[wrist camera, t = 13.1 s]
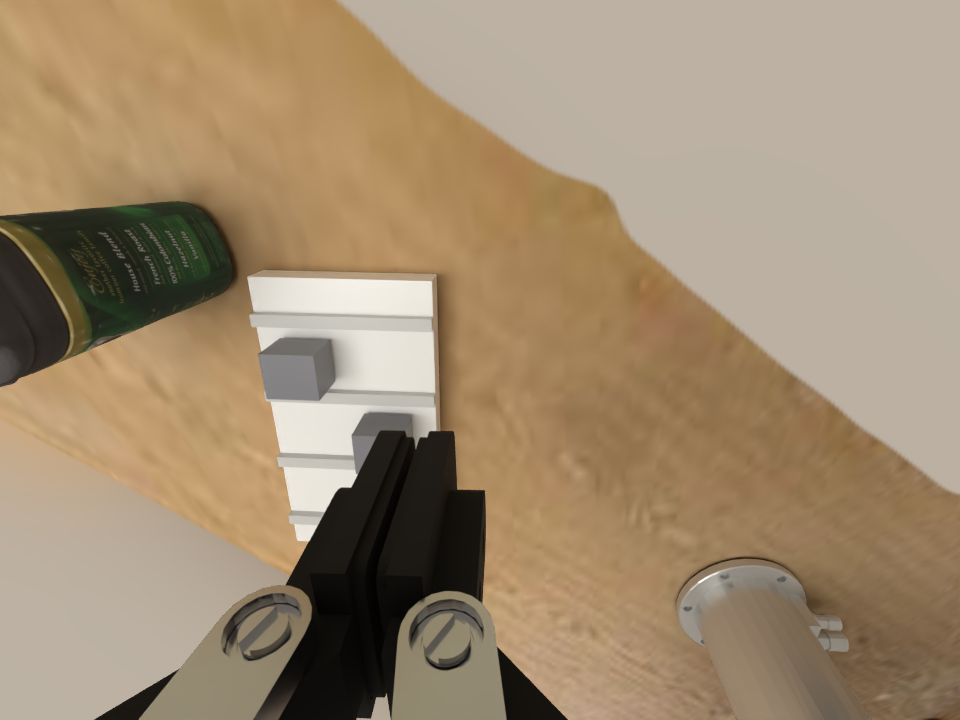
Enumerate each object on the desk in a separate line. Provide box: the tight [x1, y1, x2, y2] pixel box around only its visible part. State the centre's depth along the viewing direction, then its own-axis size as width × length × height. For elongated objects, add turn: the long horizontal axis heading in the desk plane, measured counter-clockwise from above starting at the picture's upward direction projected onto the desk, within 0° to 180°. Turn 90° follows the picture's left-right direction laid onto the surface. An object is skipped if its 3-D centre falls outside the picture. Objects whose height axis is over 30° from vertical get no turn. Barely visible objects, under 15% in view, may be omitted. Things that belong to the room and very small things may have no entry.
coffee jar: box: [0, 201, 233, 387], centre depth 27 cm, size 10×8×19 cm
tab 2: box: [351, 413, 413, 474], centre depth 36 cm, size 4×4×3 cm
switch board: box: [247, 270, 441, 541], centre depth 39 cm, size 14×26×3 cm, turn 179°
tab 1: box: [258, 338, 335, 401], centre depth 34 cm, size 4×4×3 cm
